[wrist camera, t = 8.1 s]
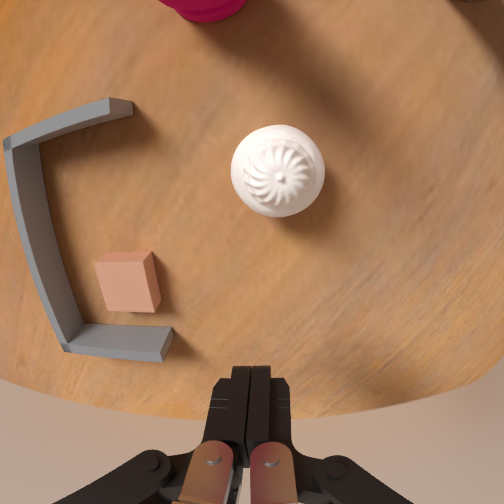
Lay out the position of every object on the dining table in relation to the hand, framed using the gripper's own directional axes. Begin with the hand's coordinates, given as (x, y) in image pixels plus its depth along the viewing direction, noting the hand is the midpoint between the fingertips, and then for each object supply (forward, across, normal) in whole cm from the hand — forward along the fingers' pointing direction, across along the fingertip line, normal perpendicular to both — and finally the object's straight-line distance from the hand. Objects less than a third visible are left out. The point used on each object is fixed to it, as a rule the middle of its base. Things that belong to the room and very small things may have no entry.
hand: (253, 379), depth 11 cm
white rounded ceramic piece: (+15, -2, -6) cm, 16 cm away
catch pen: (+14, +16, -2) cm, 21 cm away
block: (+14, +12, +2) cm, 19 cm away
